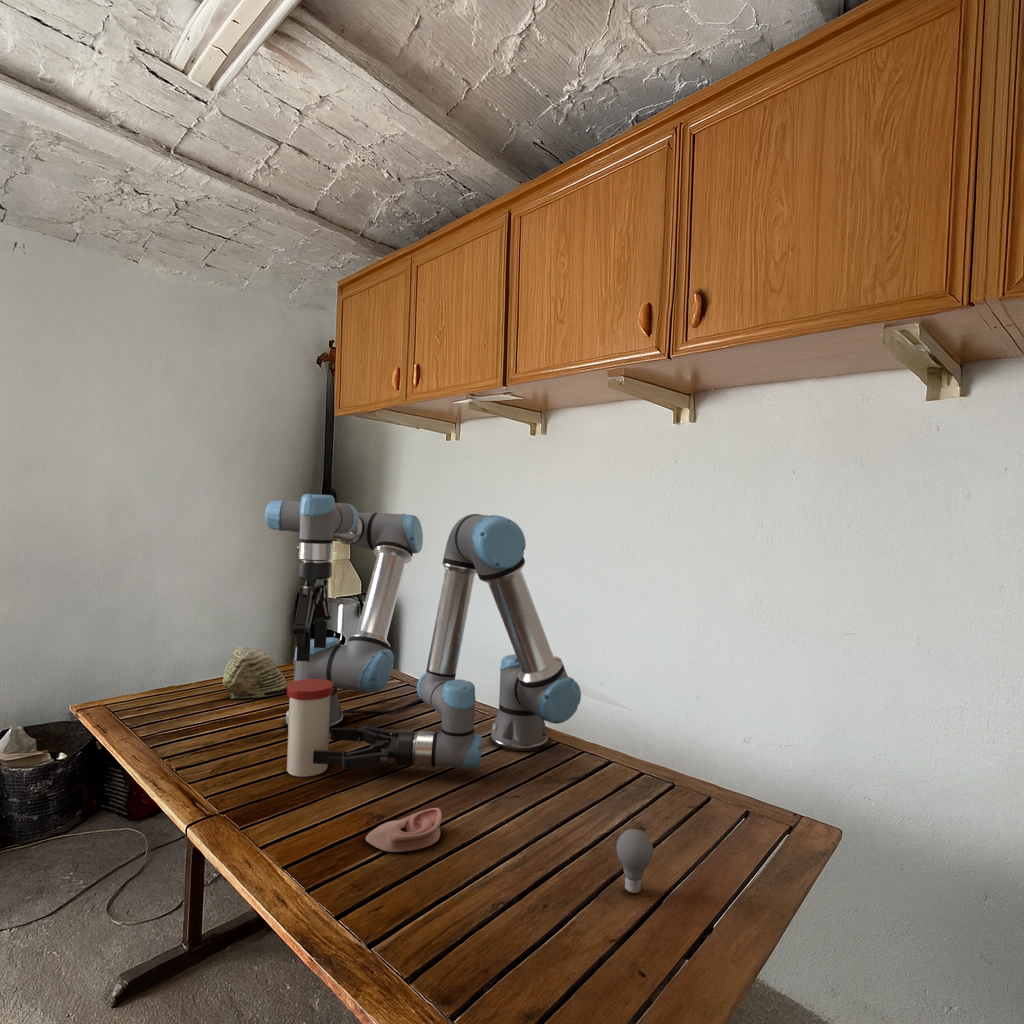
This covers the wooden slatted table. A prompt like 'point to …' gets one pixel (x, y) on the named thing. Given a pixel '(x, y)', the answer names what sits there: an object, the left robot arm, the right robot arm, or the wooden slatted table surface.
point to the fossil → (252, 674)
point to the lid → (310, 689)
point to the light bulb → (634, 857)
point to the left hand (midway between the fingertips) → (311, 654)
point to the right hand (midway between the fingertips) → (322, 744)
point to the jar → (307, 735)
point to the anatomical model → (408, 832)
